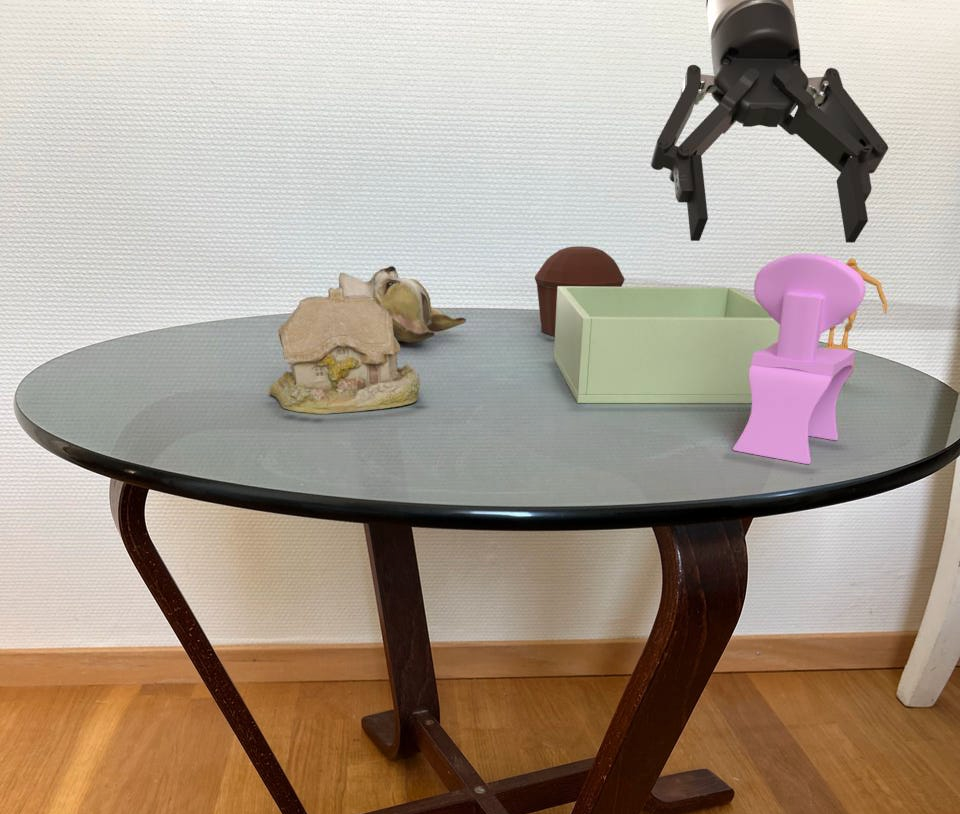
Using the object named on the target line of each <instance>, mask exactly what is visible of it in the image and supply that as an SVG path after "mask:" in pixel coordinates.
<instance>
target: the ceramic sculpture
mask: <svg viewBox="0 0 960 814" xmlns="http://www.w3.org/2000/svg"><path fill="white" fill-rule="evenodd" d="M339 287H342V288H343V293H344V296H345V297H346V296H351V295H360V296H361V295H366V296H368V297H372V298H374V300H375V301H376V303H377V304H378V305H379V306H381V307H382V308H383V309H385V310H387V311H388V313H389V315H390V316H391V318H392V321H393V333H394V337H395V338H396V340H397V342H402V343H403V342H405V343H419V342H421V341H425V340H427V339H431V338H432V337H434V336H435V333H437V332H444V331H447V330H450V329H453V328H455V327H457V326H460V325H463V324H465V323H466V322H467V318H465V317H462V316H460V317H454V318H453V317H451V316H450V315H447V314H445V313H443V311H441V310H440V309H438V308H435V307H432V304H431V297H430V295H429V293H428V291H427V290H426V288H425V287H424V286H423V284H421V282H419V280H417V279H413V278H408V277H407V278H403V277H399V274H398V271H397V268H396V267H395V266H393V265H390V266H388V267H385V268H381V269H379V270H377V271H376V272H375V273H373V275H372V277H371V278H370V280H368V281H365V280H362V279H361V278H359V277H356V276H352V275H348V274H347V273H345V272H340V273H339V276H338V288H339Z"/></svg>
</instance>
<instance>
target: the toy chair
mask: <svg viewBox="0 0 960 814" xmlns="http://www.w3.org/2000/svg"><path fill="white" fill-rule="evenodd" d="M865 282H866V281H864V280H863V278H862V277H861V276H860V275H859V274H858V273H857V272H856V271H855V270H854V269H852V268H851V267H849V266H848V265H846V263H844V262H842V261H839V260H838V259H835V258H833V257H830V256H827V255H823V254H813V253H794V254H789V255H785V256H781V257H778V258H777V259H774V260H772V261H770V262H769V263H767V264H765V265H764V266H763V267H761V269H760V270H759V271H758V272H757V274H756V276H755V280H754V285H753V293H754V294H753V295H754V299H756V300H757V301H758V303H759V304H760V305H761V306H762V307H763V308H764V309H765V310H766V311H767V312H768V314H769V315H770V316H771V317H772V318H773V319H774V320H775V321H777V322H778V323H779V324H780V329H779V337H778V342H776V343H774V344H772V345H771V346H770V347H768V348H766V349H764V350H761V351H758V352H756V353H754V354H753V356H752V362H751V367H750V370H749V381H750V387H751V394H752V403H751V410H750V414H749V417H748V421H747V423H746V425H745V427H744V429H743V431H742V433H741V434H740V436H739V438H738V440H737V441H736V443H735V444H734V446H733V447H732V451H736V452H739V453H744V454H750V455H756V456H761V457H766V458H772V459H778V460H783V461H788V462H793V463H798V464H804V465H810V464H811V463H812V457H811V451H810V443H809V437H812V438H818V439H823V440H824V439H825V440H829V441H830V440H831V441H838V439H839V434H838V427H837V412H836V411H837V402H838V398H839V395H840V392H841V390H842V388H843V386H844V384H845V382H846V381H847V380H848V379H849V377H850V376H851V375H850V373H851V371H852V368H853V362H854V361H855V356H856V350H851V349H849V350H844V349H828V348H825V347H819V341H820V338H821V336H822V334H823V333H825V332H826V331H828V330H830V328H832V327H834V326H838V325H841V324H843V323H845V320H846V319H848V317H849V316H850V315H851V314H853V313H854V312H855V311H856V309H858V308H859V307H860V305H861V304H862V302H863V300H864V298H865V295H866V289H867V288H866V283H865ZM849 375H850V376H849ZM848 376H849V377H848Z"/></svg>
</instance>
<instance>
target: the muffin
mask: <svg viewBox="0 0 960 814" xmlns="http://www.w3.org/2000/svg"><path fill="white" fill-rule="evenodd" d="M534 281H535V284H536V289H537V290H536V291H537V299H538V309H539V320H540V329H541V333H543V334H547V335H549V336H551V337H555V326H556V306H557V287H558V286H564V287H565V286H592V287H623V285H624V283H625V276H624V275H623V273H622V271H621V269H620V267H619V265H618V264H617V262H616V261H615V259H614V258H613V257H612V256H611V255H609V254H608V253H607V252H606V251H604V250H602V249H599V248H597V247H593V246H583V245H581V246H580V245H579V246H577V245H576V246H575V245H574V246H568V247H565V248H561V249H559V250H558V251H556V252H554V253H553V254H551V255H550V256H549V257H548V258H547V259H546V260H545V261H544V262H543V264H542V265H541V267H540V268H539V270H538V271H537V272H536V274H535V275H534Z"/></svg>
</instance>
